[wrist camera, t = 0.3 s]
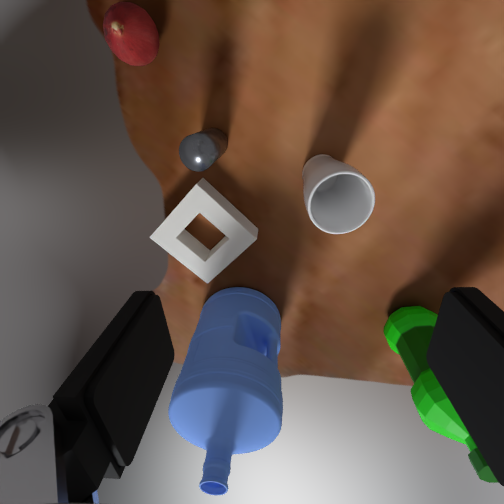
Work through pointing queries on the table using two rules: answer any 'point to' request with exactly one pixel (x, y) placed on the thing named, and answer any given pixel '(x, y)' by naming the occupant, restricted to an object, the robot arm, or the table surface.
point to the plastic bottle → (429, 379)
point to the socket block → (221, 216)
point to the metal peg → (202, 149)
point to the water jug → (230, 382)
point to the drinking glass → (336, 195)
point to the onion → (131, 33)
